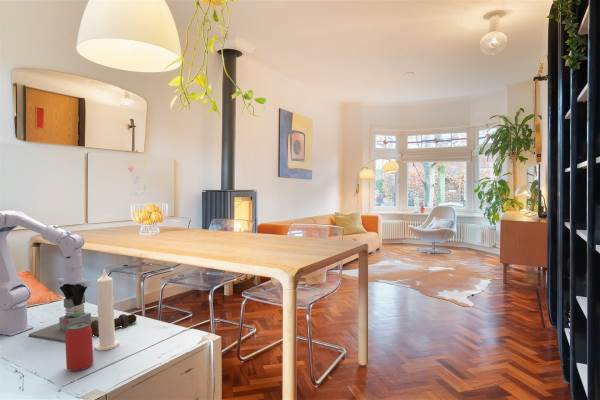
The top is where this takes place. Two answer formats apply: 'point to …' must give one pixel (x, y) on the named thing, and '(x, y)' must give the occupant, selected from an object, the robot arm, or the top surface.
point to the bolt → (120, 321)
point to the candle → (106, 314)
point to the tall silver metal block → (73, 307)
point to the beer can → (79, 346)
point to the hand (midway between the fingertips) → (74, 304)
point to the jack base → (61, 327)
